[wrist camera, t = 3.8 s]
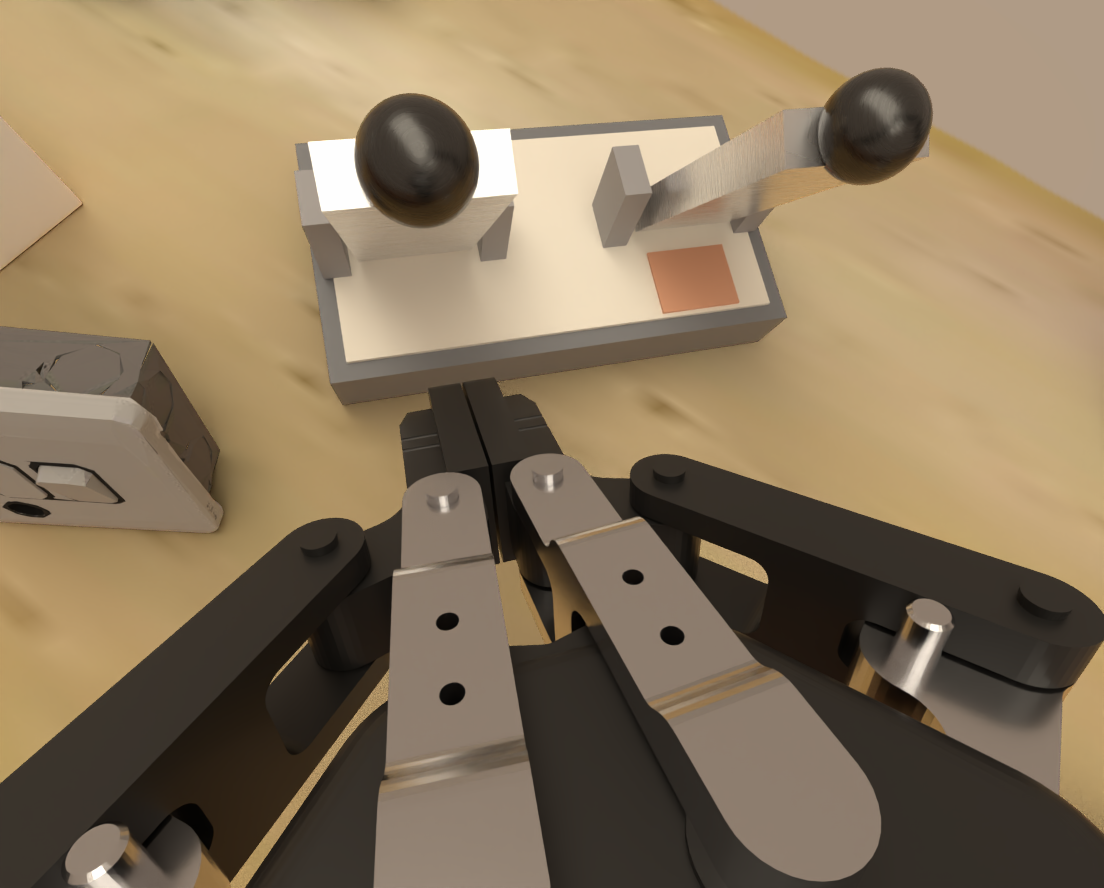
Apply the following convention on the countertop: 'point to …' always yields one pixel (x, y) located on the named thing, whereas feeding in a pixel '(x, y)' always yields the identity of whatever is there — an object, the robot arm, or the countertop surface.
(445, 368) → the switch panel
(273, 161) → the countertop surface
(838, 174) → the lever inner
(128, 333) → the countertop surface
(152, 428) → the electrical switch
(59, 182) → the milk
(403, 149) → the lever outer
